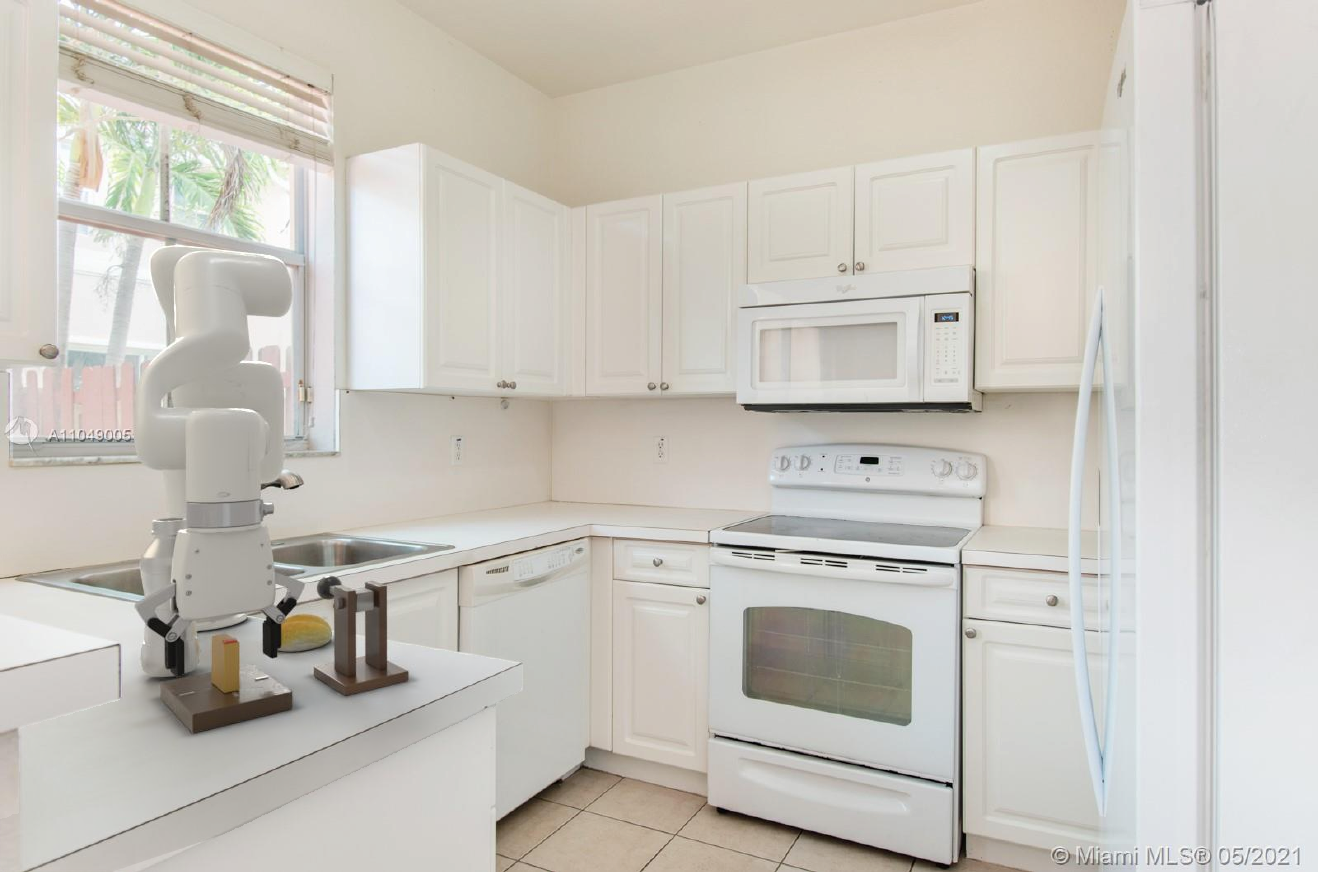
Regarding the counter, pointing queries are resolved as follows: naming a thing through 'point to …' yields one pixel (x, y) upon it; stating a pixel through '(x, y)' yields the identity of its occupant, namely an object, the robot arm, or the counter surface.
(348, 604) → the handle bracket
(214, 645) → the lock knob
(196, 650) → the plastic bottle
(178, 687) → the plate
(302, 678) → the counter surface
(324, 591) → the door lever
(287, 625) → the bread roll
